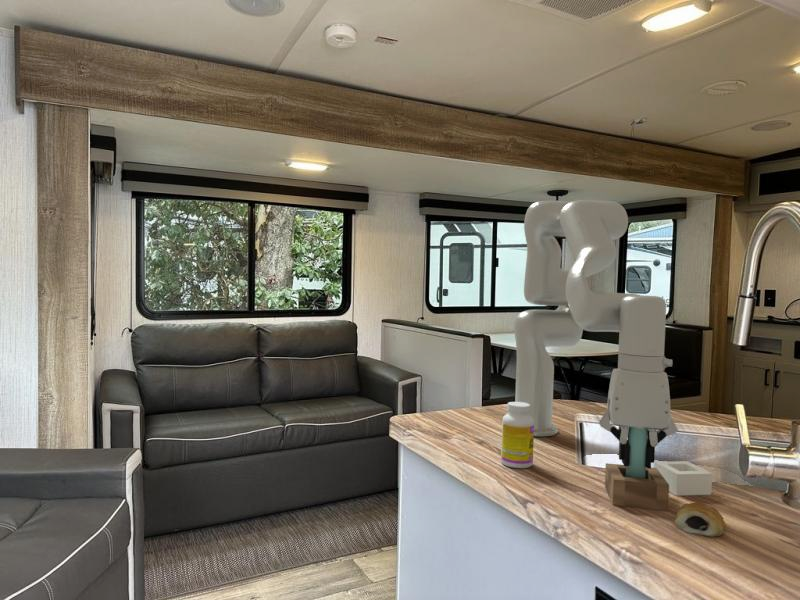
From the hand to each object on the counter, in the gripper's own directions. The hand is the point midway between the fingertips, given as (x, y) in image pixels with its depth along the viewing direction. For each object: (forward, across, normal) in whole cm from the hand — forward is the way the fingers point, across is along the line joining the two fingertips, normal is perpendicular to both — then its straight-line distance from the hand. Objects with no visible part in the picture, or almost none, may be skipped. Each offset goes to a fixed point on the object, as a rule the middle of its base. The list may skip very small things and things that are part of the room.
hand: (635, 464), depth 100 cm
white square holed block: (+6, -10, -8) cm, 14 cm away
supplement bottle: (+6, +21, -13) cm, 25 cm away
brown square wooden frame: (+6, 0, 0) cm, 6 cm away
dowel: (+5, 0, 0) cm, 5 cm away
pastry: (+7, -8, +10) cm, 14 cm away
